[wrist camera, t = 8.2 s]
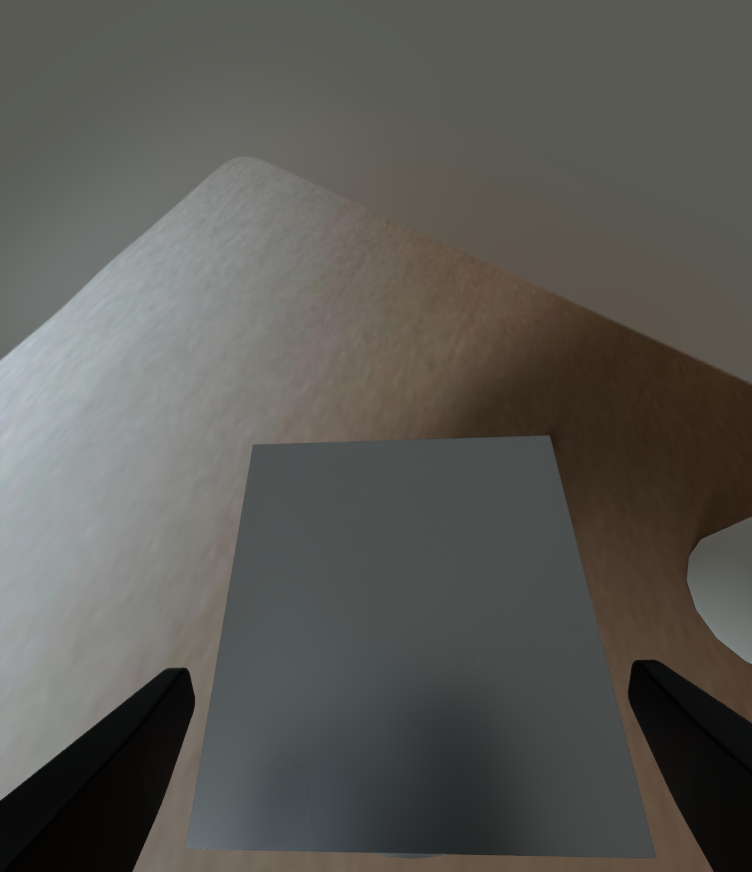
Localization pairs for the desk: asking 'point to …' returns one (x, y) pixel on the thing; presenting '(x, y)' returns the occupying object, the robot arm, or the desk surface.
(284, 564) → the grey stepped block
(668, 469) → the desk surface
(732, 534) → the white cup
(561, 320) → the desk surface
